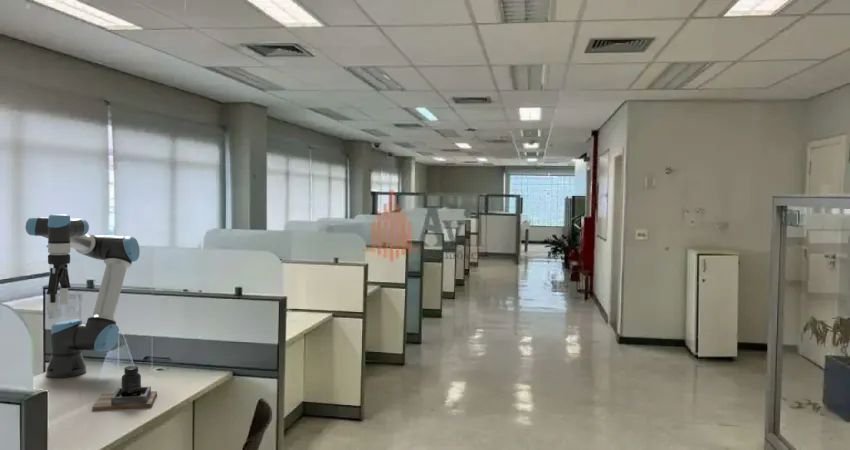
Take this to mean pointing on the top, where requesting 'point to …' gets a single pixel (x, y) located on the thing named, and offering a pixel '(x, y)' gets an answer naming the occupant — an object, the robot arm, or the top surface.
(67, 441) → the top surface
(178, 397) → the top surface
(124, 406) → the base board
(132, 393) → the supplement bottle
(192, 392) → the top surface
